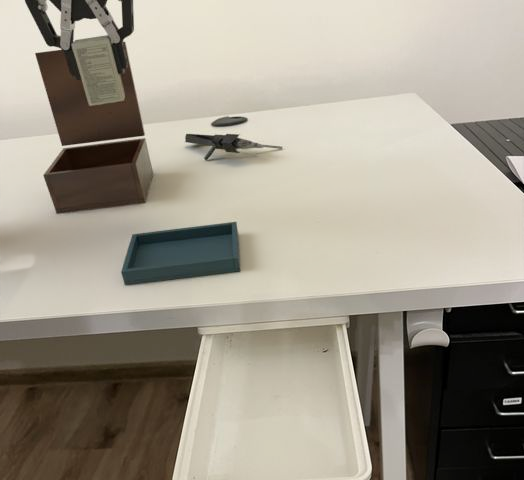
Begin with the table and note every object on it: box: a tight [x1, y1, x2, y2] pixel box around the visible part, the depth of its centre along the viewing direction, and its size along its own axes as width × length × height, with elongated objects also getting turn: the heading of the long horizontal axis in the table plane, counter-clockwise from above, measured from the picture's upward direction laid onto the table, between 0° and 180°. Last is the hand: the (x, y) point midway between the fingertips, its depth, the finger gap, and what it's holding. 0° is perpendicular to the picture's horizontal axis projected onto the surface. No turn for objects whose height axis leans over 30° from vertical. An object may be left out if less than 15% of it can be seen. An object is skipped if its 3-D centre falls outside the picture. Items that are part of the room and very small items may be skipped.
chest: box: [43, 137, 154, 214], centre depth 99 cm, size 15×16×7 cm
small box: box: [71, 34, 125, 106], centre depth 76 cm, size 5×4×8 cm
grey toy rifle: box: [184, 133, 283, 161], centre depth 113 cm, size 5×22×15 cm
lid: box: [34, 41, 146, 147], centre depth 99 cm, size 15×16×1 cm
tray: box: [120, 221, 241, 286], centre depth 76 cm, size 15×11×2 cm
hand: (100, 75), depth 76 cm, fingers closed on small box, 5 cm apart
